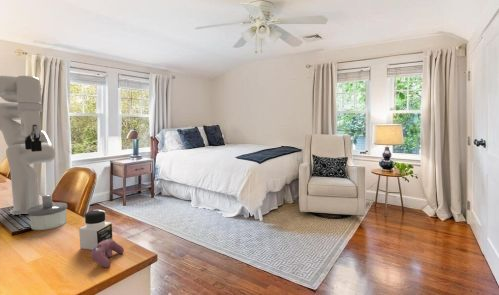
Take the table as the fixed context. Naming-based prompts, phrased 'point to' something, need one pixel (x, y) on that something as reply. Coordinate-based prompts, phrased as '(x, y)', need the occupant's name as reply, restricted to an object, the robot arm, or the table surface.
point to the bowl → (48, 221)
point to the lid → (47, 207)
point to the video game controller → (105, 247)
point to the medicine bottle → (94, 229)
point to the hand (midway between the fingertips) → (33, 150)
